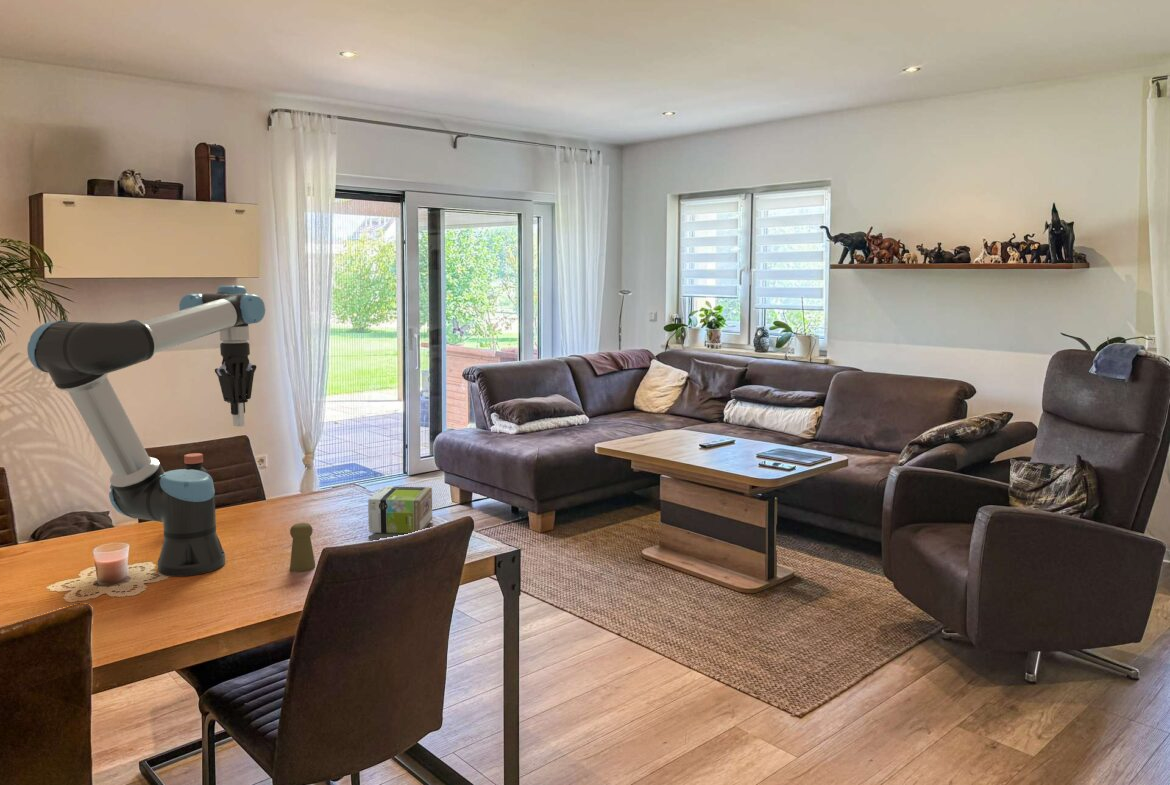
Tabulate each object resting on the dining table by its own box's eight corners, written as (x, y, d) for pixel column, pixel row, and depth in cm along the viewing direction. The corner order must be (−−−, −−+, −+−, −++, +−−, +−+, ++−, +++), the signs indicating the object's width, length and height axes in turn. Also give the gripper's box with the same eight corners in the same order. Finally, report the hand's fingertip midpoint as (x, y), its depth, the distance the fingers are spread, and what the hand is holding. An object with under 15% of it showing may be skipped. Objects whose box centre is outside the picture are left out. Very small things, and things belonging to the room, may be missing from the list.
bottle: (214, 519, 250) (211, 452, 247) (201, 526, 243) (198, 457, 241) (192, 518, 251) (188, 452, 248) (179, 525, 244) (175, 456, 241)
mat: (398, 543, 229) (398, 540, 229) (368, 538, 233) (368, 536, 233) (428, 529, 242) (428, 527, 242) (399, 524, 246) (399, 522, 246)
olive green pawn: (288, 572, 206) (287, 528, 204) (290, 564, 211) (288, 521, 210) (315, 570, 207) (313, 526, 206) (316, 562, 213) (314, 519, 212)
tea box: (368, 534, 235) (421, 534, 234) (367, 498, 234) (420, 499, 233) (384, 518, 250) (434, 519, 249) (383, 485, 249) (432, 486, 248)
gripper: (242, 339, 243) (246, 421, 246) (205, 342, 231) (210, 428, 234) (262, 340, 240) (266, 423, 243) (226, 343, 228) (230, 430, 231)
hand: (238, 425), depth 238 cm, fingers closed
